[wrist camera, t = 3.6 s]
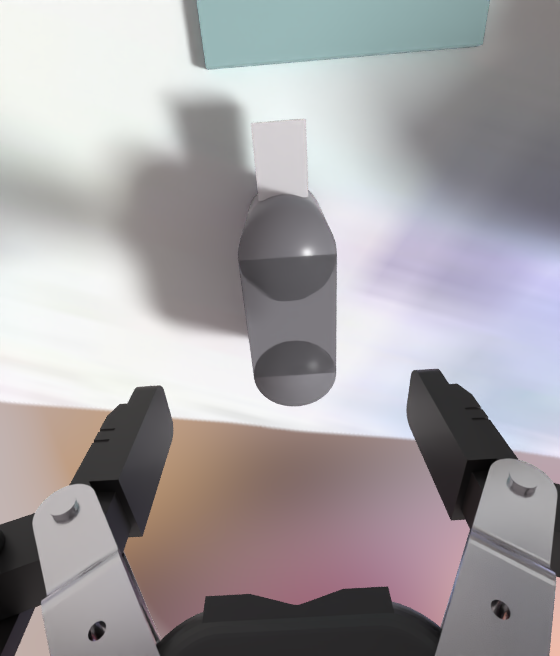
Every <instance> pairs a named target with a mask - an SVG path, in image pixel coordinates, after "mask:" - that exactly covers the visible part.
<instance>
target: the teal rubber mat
mask: <svg viewBox="0 0 560 656" xmlns="http://www.w3.org/2000/svg"><path fill="white" fill-rule="evenodd" d="M196 1H197V8H198V15H199V22H200V29H201V36H202V43H203V50H204V57H205V64H206V69H208V70H209V69H221V68H232V67H244V66H256V65H267V64H279V63H291V62H302V61H314V60H326V59H337V58H349V57H361V56H372V55H384V54H396V53H407V52H419V51H431V50H442V49H454V48H466V47H476V46H479V45H483V39H484V33H485V27H486V21H487V15H488V9H489V2H490V0H196Z"/></svg>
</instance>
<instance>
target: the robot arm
mask: <svg viewBox="0 0 560 656" xmlns="http://www.w3.org/2000/svg"><path fill="white" fill-rule="evenodd" d="M407 419H408V423H409V426H410V429H411V431H412V433H413V436H414V438H415V440H416V442H417V444H418V447H419V449H420V451H421V454H422V456H423V458H424V460H425V463H426V465H427V467H428V469H429V472H430V474H431V476H432V478H433V481H434V483H435V485H436V488H437V490H438V492H439V494H440V497H441V499H442V501H443V503H444V506H445V508H446V510H447V512H448V515H449V517H450V519H451V520H464V519H466V522H467V524H468V526H469V528H470V532H469V535H468V538H467V542H466V545H465V548H464V551H463V555H462V558H461V562H460V565H459V569H458V571H457V575H456V578H455V582H454V585H453V589H452V592H451V595H450V598H449V602H448V605H447V608H446V611H445V614H444V618H443V621H442V624H441V627H439V626H438V625H437V624H436V623H434V622H433V621H431V620H430V619H428V618H427V617H426V616H424V615H422V614H421V613H419V612H417V611H415V610H413V609H411V608H409V607H407V606H404V605H401V604H399V603H395V602H392V601H391V597H390V593H389V589H388V587H371V588H352V589H342V590H339V591H336V592H333V593H331V594H328V595H325V596H322V597H320V598H317V599H314V600H312V601H309V602H306V603H303V604H300V605H292V604H288V603H284V602H280V601H276V600H272V599H268V598H264V597H260V596H255V595H251V594H242V595H226V596H225V595H224V596H206V598H205V605H204V612H202V613H200V614H197V615H195V616H193V617H191V618H189V619H187V620H185V621H184V622H183V623H181V624H180V625H178V626H177V627H175V628H174V629H173V630H172V631H171V632H170V633H168V634H167V635H166V636H165V637H164V638H163V639H162V640H161V638H160V636H159V633H158V631H157V629H156V626H155V624H154V622H153V620H152V618H151V615H150V613H149V611H148V608H147V606H146V604H145V601H144V599H143V596H142V594H141V592H140V589H139V587H138V584H137V582H136V580H135V577H134V575H133V572H132V570H131V568H130V565H129V563H128V561H127V558H126V556H125V554H124V548H125V544H126V542H127V539H128V537H141V536H143V533H144V530H145V526H146V523H147V520H148V517H149V513H150V510H151V507H152V504H153V500H154V497H155V494H156V490H157V487H158V484H159V481H160V478H161V474H162V471H163V468H164V465H165V461H166V458H167V455H168V452H169V448H170V445H171V442H172V437H173V421H172V418H171V414H170V410H169V407H168V403H167V400H166V396H165V393H164V389H163V387H162V386H145V387H137V388H135V390H134V392H133V394H132V396H131V398H130V400H129V402H128V404H120V405H118V406H117V407H116V408H115V409H114V410H113V411H112V412H111V413H110V414H109V415H108V416H107V417H106V419H105V421H104V423H103V425H102V427H101V428H100V432H98V434H97V436H96V438H95V439H94V443H92V445H91V447H90V448H89V450H88V452H87V454H86V456H85V458H84V459H83V461H82V463H81V465H80V467H79V469H78V470H77V472H76V474H75V476H74V478H73V480H72V481H71V483H70V485H69V486H67V487H64V488H62V489H60V490H58V491H56V492H54V493H53V494H52V495H50V496H49V497H48V498H47V499H46V500H44V502H43V503H42V504H41V505H40V506H39V508H38V509H37V511H36V513H33V514H31V515H28V516H25V517H22V518H19V519H16V520H13V521H10V522H7V523H4V524H1V525H0V656H15V653H16V651H17V648H18V646H19V644H20V642H21V639H22V637H23V635H24V632H25V630H26V628H27V625H28V623H29V620H30V618H31V616H32V614H33V611H34V609H35V607H37V606H39V605H41V609H42V616H43V621H44V626H45V631H46V636H47V642H48V646H49V652H50V656H549V653H550V642H551V632H552V621H553V610H554V599H555V588H556V576H557V577H560V485H559V484H555V483H553V482H552V480H551V479H550V478H549V477H548V476H547V475H546V474H545V473H544V472H543V471H541V470H540V469H538V468H537V467H535V466H533V465H531V464H529V463H527V462H524V461H521V460H518V458H517V457H516V455H515V454H514V453H513V451H512V450H511V448H510V447H509V446H508V444H507V443H506V441H505V440H504V439H503V437H502V436H501V434H500V433H499V432H498V430H497V429H496V428H495V426H494V425H493V423H492V422H491V421H490V420H488V416H487V415H486V414H485V412H484V411H483V409H481V407H480V405H479V404H478V402H477V401H476V400H475V398H474V397H473V395H472V394H471V393H469V392H468V391H467V390H465V389H464V388H462V387H461V386H460V385H458V384H449V383H448V382H447V380H446V379H445V377H444V376H443V374H442V373H441V371H440V370H439V369H426V370H414V371H412V374H411V379H410V386H409V394H408V401H407Z"/></svg>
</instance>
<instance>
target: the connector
mask: <svg viewBox="0 0 560 656" xmlns="http://www.w3.org/2000/svg"><path fill="white" fill-rule="evenodd" d="M251 129H252V139H253V150H254V160H255V170H256V181H257V191H258V193H257V194H256V196H255V197H254V199H253V200H252V202H251V204H250V207H249V210H248V214H247V218H246V222H245V225H244V229H243V233H242V236H241V240H240V244H239V250H238V260H239V268H240V276H241V283H242V291H243V298H244V306H245V313H246V321H247V328H248V336H249V343H250V351H251V358H252V366H253V373H254V380H255V383H256V386H257V388H258V389H259V391H260V392H261V393H262V394H263V395H264V396H265V397H266V398H268V399H269V400H271V401H273V402H275V403H277V404H281V405H285V406H302V405H307V404H310V403H313V402H315V401H317V400H319V399H321V398H322V397H323V396H324V395H326V394H327V393H328V391H329V390H330V389H331V387H332V386H333V384H334V381H335V377H336V289H337V251H336V244H335V240H334V237H333V234H332V232H331V230H330V228H329V226H328V224H327V222H326V219H325V217H324V215H323V213H322V211H321V209H320V207H319V204H318V202H317V201H316V199H315V197H314V196H313V194H312V193H311V192H310V191H309V190H308V172H307V140H306V119H294V120H282V121H269V122H257V123H251Z"/></svg>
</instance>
